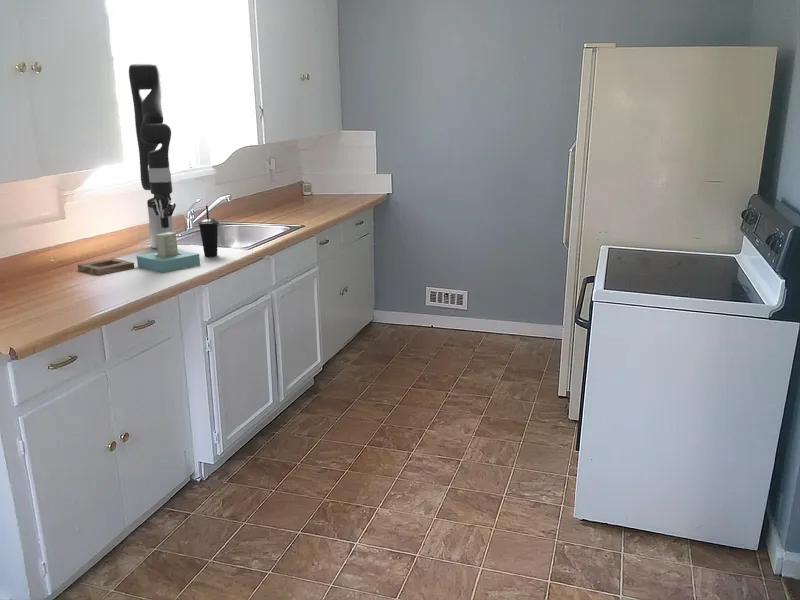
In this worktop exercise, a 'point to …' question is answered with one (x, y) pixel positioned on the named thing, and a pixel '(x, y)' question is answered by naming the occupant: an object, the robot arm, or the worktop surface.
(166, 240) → the skincare box
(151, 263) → the socket block
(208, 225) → the drinking cup
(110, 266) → the frame
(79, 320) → the worktop surface
